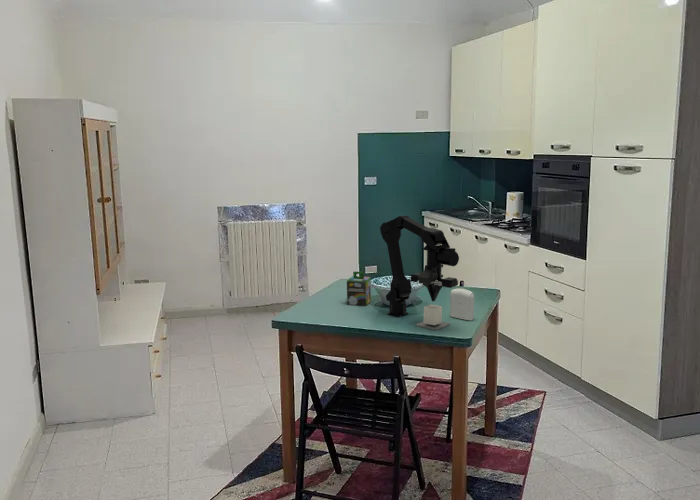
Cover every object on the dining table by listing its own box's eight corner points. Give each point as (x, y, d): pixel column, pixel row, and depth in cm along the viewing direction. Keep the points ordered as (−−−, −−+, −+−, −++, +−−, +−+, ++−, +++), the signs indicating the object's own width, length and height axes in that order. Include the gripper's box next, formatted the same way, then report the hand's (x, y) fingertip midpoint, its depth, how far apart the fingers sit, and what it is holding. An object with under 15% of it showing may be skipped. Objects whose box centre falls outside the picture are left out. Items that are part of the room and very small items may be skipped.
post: (415, 325, 253) (415, 308, 252) (428, 320, 261) (429, 303, 259) (436, 330, 247) (437, 313, 245) (450, 324, 254) (450, 307, 253)
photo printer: (448, 316, 265) (449, 287, 263) (454, 314, 268) (455, 286, 266) (469, 321, 258) (470, 292, 256) (475, 319, 261) (476, 290, 259)
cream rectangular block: (423, 323, 253) (423, 306, 252) (430, 320, 257) (430, 304, 256) (434, 325, 250) (435, 309, 249) (441, 322, 254) (442, 306, 253)
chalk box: (371, 301, 290) (371, 269, 288) (366, 306, 282) (366, 273, 279) (351, 300, 293) (351, 268, 290) (346, 305, 284) (346, 272, 281)
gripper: (402, 262, 249) (402, 301, 251) (444, 268, 237) (443, 309, 240) (418, 258, 257) (417, 296, 260) (459, 264, 246) (458, 303, 248)
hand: (433, 301), depth 252 cm, fingers closed
